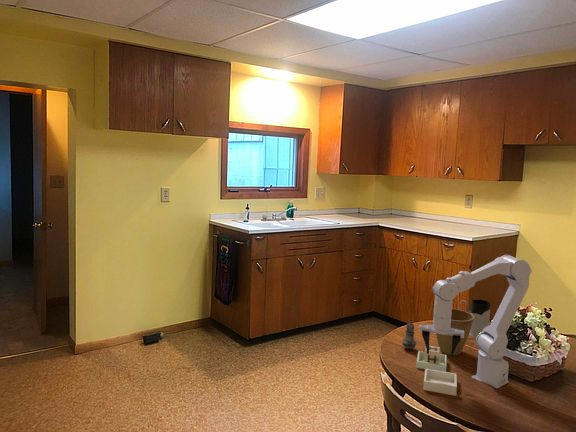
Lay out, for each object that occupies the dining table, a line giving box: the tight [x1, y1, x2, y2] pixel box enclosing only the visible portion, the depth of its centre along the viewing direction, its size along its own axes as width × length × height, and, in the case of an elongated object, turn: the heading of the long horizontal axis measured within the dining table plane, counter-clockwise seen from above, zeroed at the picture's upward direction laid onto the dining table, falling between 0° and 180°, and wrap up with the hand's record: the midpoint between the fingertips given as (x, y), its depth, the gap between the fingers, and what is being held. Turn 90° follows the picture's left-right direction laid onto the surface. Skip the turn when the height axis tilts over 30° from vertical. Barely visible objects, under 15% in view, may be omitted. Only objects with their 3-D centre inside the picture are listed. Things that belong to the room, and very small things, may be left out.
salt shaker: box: [401, 320, 418, 351], centre depth 185 cm, size 6×6×12 cm
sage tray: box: [415, 350, 448, 372], centre depth 171 cm, size 10×10×3 cm
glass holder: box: [458, 299, 491, 339], centre depth 206 cm, size 9×14×15 cm, turn 42°
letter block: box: [424, 345, 441, 364], centre depth 171 cm, size 5×5×6 cm
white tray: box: [423, 369, 458, 397], centre depth 156 cm, size 10×10×3 cm
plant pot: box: [435, 307, 474, 356], centre depth 183 cm, size 15×15×16 cm
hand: (439, 354), depth 159 cm, fingers open, 7 cm apart
